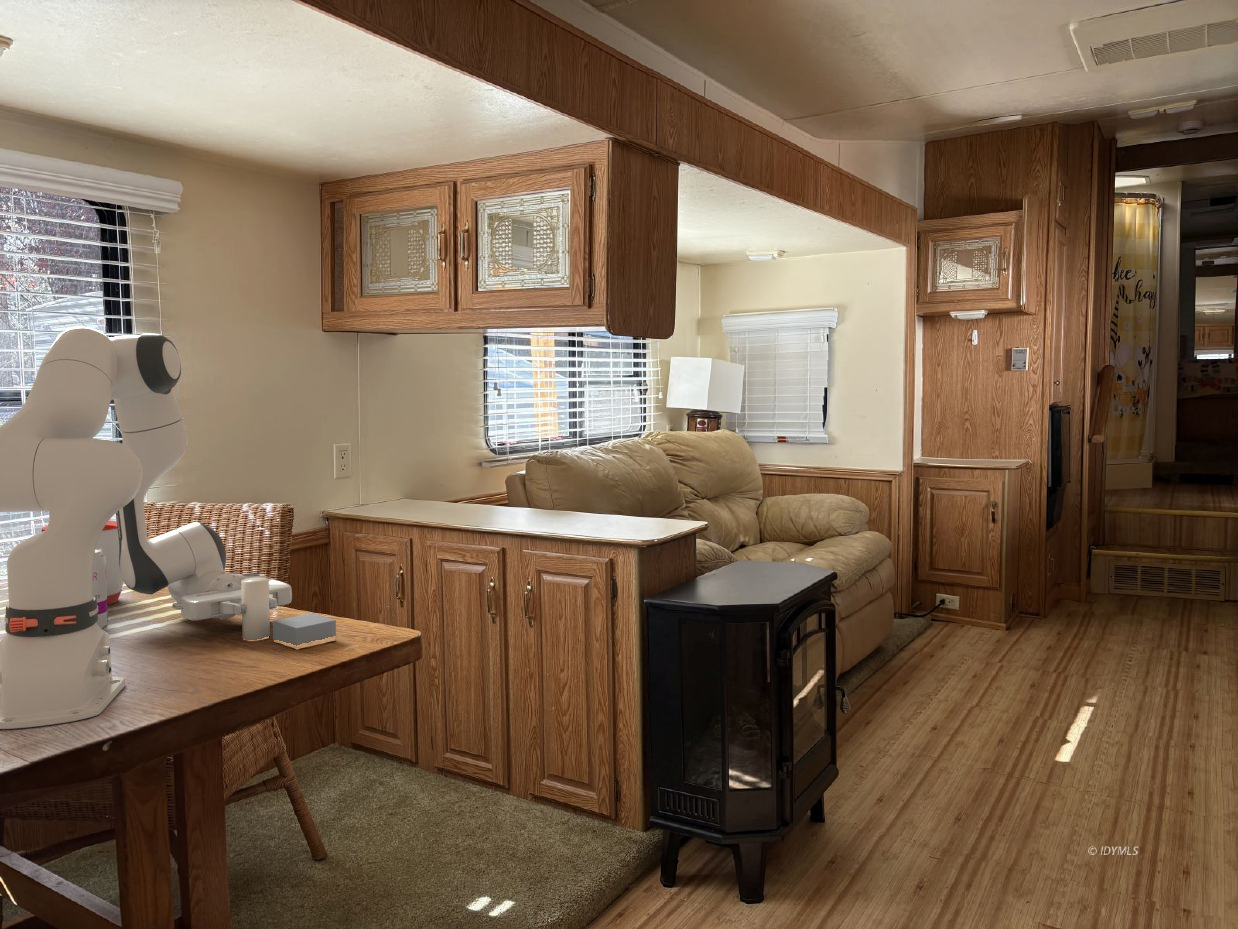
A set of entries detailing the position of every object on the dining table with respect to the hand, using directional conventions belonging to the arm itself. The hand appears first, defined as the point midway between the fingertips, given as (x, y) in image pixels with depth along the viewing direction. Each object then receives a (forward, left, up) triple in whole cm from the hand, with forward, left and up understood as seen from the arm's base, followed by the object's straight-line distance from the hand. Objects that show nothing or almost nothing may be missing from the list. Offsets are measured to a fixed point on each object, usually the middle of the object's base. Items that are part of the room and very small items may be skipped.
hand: (258, 607), depth 174 cm
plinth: (-5, -8, -6) cm, 11 cm away
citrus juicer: (+43, +32, -6) cm, 54 cm away
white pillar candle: (+1, 0, -6) cm, 6 cm away
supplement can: (+21, +30, -6) cm, 37 cm away
